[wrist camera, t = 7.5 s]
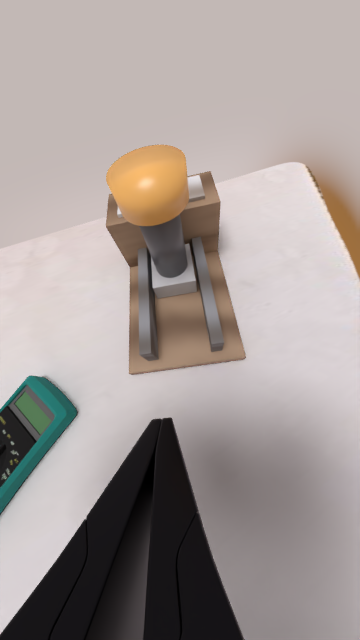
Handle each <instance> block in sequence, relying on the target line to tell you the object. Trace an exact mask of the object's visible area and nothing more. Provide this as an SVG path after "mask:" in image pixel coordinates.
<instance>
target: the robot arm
mask: <svg viewBox="0 0 360 640" xmlns="http://www.w3.org/2000/svg"><path fill="white" fill-rule="evenodd" d="M0 640H244V638H243V635H242V633H241V630H240V627H239V625H238V622H237V620H236V617H235V615H234V612H233V610H232V607H231V604H230V602H229V599H228V597H227V594H226V592H225V589H224V586H223V584H222V581H221V578H220V576H219V573H218V570H217V567H216V565H215V562H214V559H213V556H212V553H211V550H210V547H209V544H208V541H207V537H206V534H205V531H204V528H203V524H202V521H201V517H200V514H199V511H198V507H197V504H196V500H195V497H194V493H193V490H192V486H191V483H190V479H189V476H188V472H187V469H186V465H185V462H184V458H183V455H182V451H181V448H180V445H179V441H178V438H177V434H176V431H175V427H174V424H173V420H172V418H163V419H153V420H152V421H151V422H150V423H149V425H148V426H147V428H146V429H145V431H144V432H143V434H142V435H141V437H140V438H139V440H138V441H137V443H136V444H135V446H134V447H133V449H132V450H131V452H130V453H129V455H128V456H127V458H126V459H125V460H124V462H123V463H122V465H121V466H120V468H119V469H118V471H117V472H116V474H115V475H114V477H113V478H112V480H111V481H110V483H109V484H108V486H107V487H106V489H105V490H104V492H103V493H102V495H101V496H100V498H99V499H98V500H97V502H96V503H95V505H94V506H93V508H92V509H91V511H90V512H89V514H88V515H87V520H86V519H85V520H84V521H83V523H82V524H81V526H80V527H79V528H78V530H77V531H76V533H75V534H74V536H73V537H72V539H71V540H70V542H69V543H68V544H67V546H66V547H65V549H64V550H63V552H62V553H61V554H60V556H59V557H58V559H57V560H56V562H55V563H54V564H53V566H52V567H51V568H50V570H49V571H48V572H47V574H46V575H45V576H44V578H43V579H42V580H41V582H40V583H39V584H38V586H37V587H36V588H35V590H34V591H33V592H32V594H31V595H30V596H29V598H28V599H27V600H26V602H25V603H24V604H23V606H22V607H21V608H20V609H19V611H18V612H17V613H16V615H15V616H14V617H13V619H12V620H11V621H10V623H9V624H8V625H7V626H6V628H5V629H4V630H3V632H2V633H1V634H0Z"/></svg>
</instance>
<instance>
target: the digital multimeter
mask: <svg viewBox="0 0 360 640" xmlns="http://www.w3.org/2000/svg"><path fill="white" fill-rule="evenodd" d="M76 414H77V410H76V409H75V407H74V406H73V405H72V404H71V402H70V401H69V400H68V399H67V397H66V396H65V395H64V394H63V393H62V392H61V391H60V390H59V389H58V388H57V387H56V386H54V385H53V384H52V383H51V382H49V381H48V380H47V379H45V378H44V377H38V376H29V377H27V379H26V380H25V381H24V382H23V383H22V384H21V386H20V387H19V388H18V389H17V390H16V391H15V393H14V394H13V395H12V396H11V397H10V399H9V400H8V401H7V402H6V403H5V404H4V406H3V407H2V408H1V409H0V487H1V486H2V487H1V488H0V513H1V512H2V511H3V509H4V508H5V506H6V505H7V504H8V502H9V501H10V500H11V498H12V497H13V495H14V494H15V493H16V491H17V490H18V489H19V487H20V486H21V484H22V483H23V482H24V480H25V479H26V478H27V476H28V475H29V474H30V473H31V471H32V470H33V469H34V467H35V466H36V465H37V464H38V462H39V461H40V460H41V458H42V457H43V456H44V455H45V453H46V452H47V451H48V449H49V448H50V447H51V446H52V445H53V443H54V442H55V441H56V440H57V438H58V437H59V436H60V435H61V434H62V432H63V431H64V430H65V429H66V427H67V426H68V425H69V424H70V423H71V421H72V420H73V419H74V418H75V416H76ZM33 445H34V446H33ZM30 449H31V450H30ZM26 454H27V455H26ZM22 459H23V460H22ZM19 463H20V464H19ZM15 468H16V469H15ZM12 472H13V473H12ZM11 473H12V474H11ZM8 477H9V478H8ZM4 482H5V483H4Z"/></svg>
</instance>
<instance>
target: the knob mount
mask: <svg viewBox="0 0 360 640" xmlns="http://www.w3.org/2000/svg"><path fill="white" fill-rule="evenodd" d="M187 178H188V188H189V201H188V204H187V206H186V207H185V209H184V210H183V211H182V212H181V213H180V217H181V223H182V230H183V236H184V243H185V244H189V246H190V251H191V257H192V263H193V268H194V274H195V279H196V288H197V292H192V293H187V294H181V295H175V296H169V297H164V298H157V296H156V294H155V292H154V290H153V284H152V266H151V255H150V252H149V250H148V247H147V245H146V242H145V240H144V237H143V235H142V232H141V229H140V227H139V226H138V225H134V224H132V223H130V222H128V221H127V220H125V219H124V217H123V216H122V214H121V211H120V209H119V207H118V205H117V203H116V201H115V199H114V196H113V194H109V199H108V211H107V220H106V227H107V229H108V231H109V232H110V234H111V236H112V238H113V239H114V241H115V243H116V244H117V246H118V248H119V249H120V251H121V253H122V255H123V256H124V258H125V260H126V261H127V263H128V265H129V266H130V325H129V374H132V375H134V374H141V373H148V372H156V371H163V370H170V369H177V368H185V367H192V366H199V365H206V364H214V363H221V362H228V361H235V360H243V359H245V358H246V356H245V352H244V348H243V344H242V341H241V337H240V333H239V329H238V326H237V322H236V318H235V314H234V311H233V307H232V303H231V299H230V296H229V292H228V288H227V284H226V280H225V277H224V273H223V269H222V265H221V262H220V258H219V254H218V235H219V217H220V199H219V196H218V193H217V190H216V187H215V184H214V181H213V178H212V175H211V172H210V171H209V172H205V173H200V174H196V175H191V176H187Z"/></svg>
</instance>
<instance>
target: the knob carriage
mask: <svg viewBox="0 0 360 640" xmlns="http://www.w3.org/2000/svg"><path fill="white" fill-rule="evenodd" d="M106 181H107V184H108V186H109V188H110V190H111V192H112V194H113V196H114V199H115V201H116V203H117V205H118V207H119V209H120V211H121V214H122V216H123V217H124V219H125V220H127V221H128V222H130V223H132V224H134V225H138V226H139V227H140V229H141V232H142V235H143V237H144V240H145V242H146V245H147V247H148V250H149V252H150V255H151V266H152V284H153V290H154V292H155V294H156V296H157V298H164V297H169V296H175V295H181V294H187V293H192V292H197V288H196V279H195V274H194V268H193V263H192V257H191V251H190V246H189V244H185V243H184V236H183V230H182V223H181V217H180V213H181V212H182V211H183V210H184V209H185V207H186V206H187V204H188V201H189V188H188V178H187V168H186V159H185V155H184V153H183V152H182V151H181V150H179V149H178V148H175V147H173V146H168V145H152V146H147V147H142V148H139V149H136V150H133V151H131V152H129V153H127V154H125V155H123V156H122V157H121V158H119V159H118V160H117V161H115V162H114V163H113V164H112V166H111V167H110V168H109V170H108V172H107V176H106Z"/></svg>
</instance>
